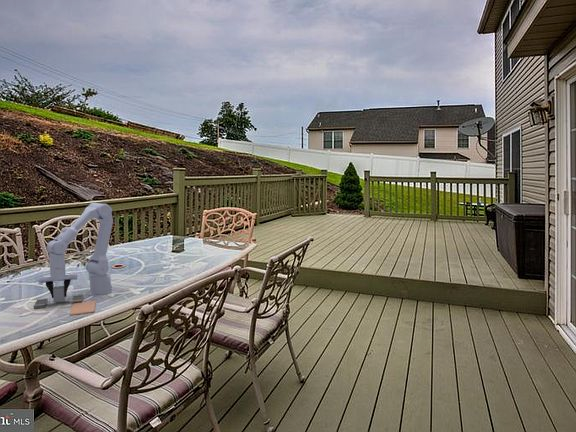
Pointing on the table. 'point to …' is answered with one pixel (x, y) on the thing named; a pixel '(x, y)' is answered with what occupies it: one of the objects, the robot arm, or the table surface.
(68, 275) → the robot arm
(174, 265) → the table surface
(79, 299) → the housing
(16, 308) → the table surface
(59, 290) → the plug
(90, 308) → the mat
